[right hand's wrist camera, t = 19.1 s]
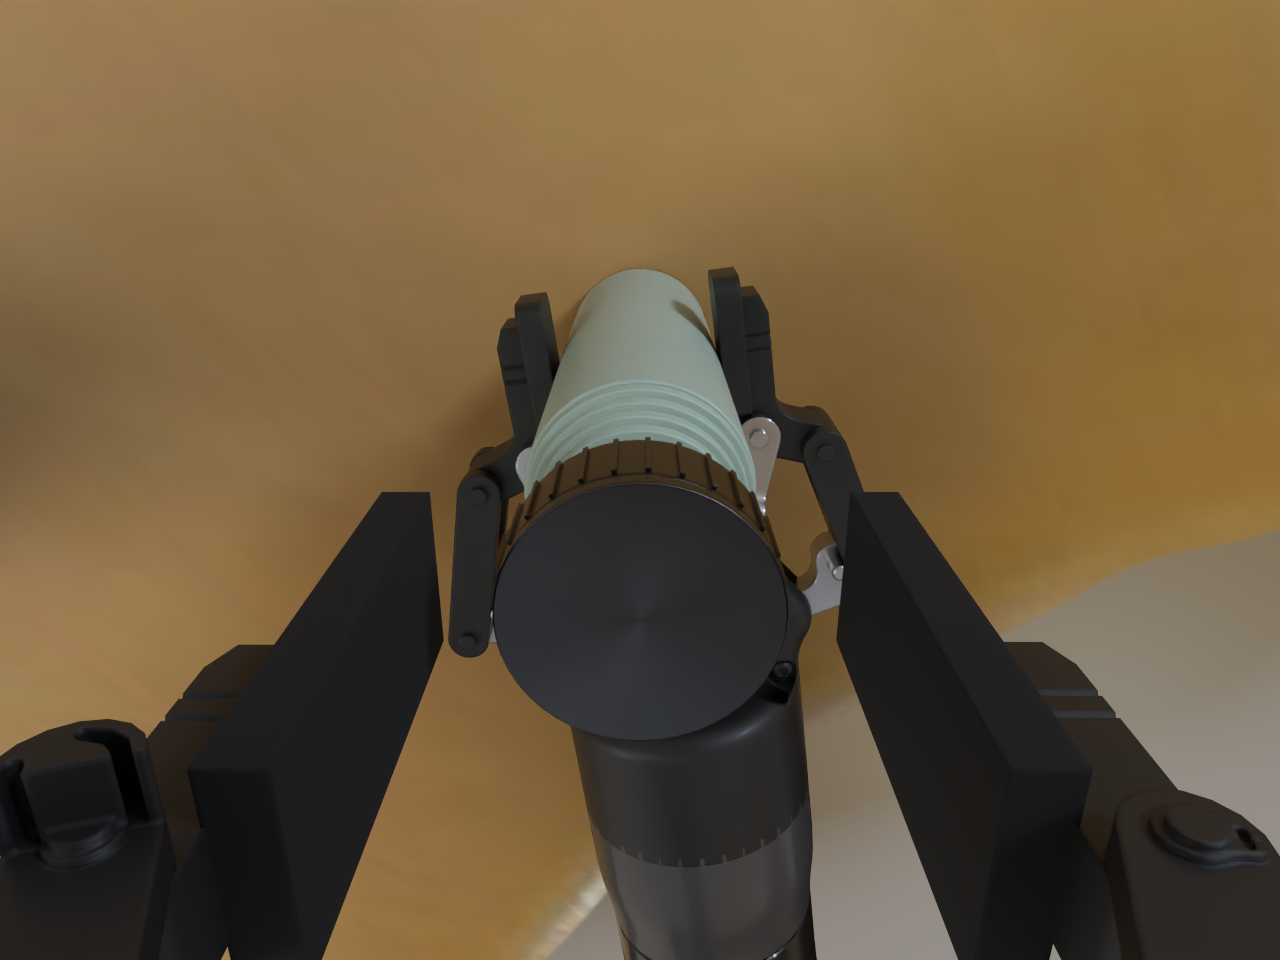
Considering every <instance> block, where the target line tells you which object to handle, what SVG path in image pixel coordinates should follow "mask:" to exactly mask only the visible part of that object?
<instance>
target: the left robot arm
mask: <svg viewBox="0 0 1280 960" xmlns="http://www.w3.org/2000/svg"><path fill="white" fill-rule="evenodd" d="M708 278H709V289H710V298H711V307H712V317H713V326H714V335H715V345H716V353H717V355H718V358H719V361H720V364H721V367H722V370H723V373H724V376H725V379H726V382H727V385H728V388H729V391H730V394H731V397H732V400H733V403H734V406H735V409H736V412H737V415H738V417H739V420H740V423H741V426H742V429H743V432H744V435H745V438H746V441H747V444H748V447H749V450H750V453H751V456H752V460H753V464H754V468H755V475H756V497H757V501H758V504H759V507H760V510H761V512H762V514H763V516H765V511H766V496H767V491H768V487H769V483H770V479H771V475H772V472H773V468H774V464H775V460H776V457H777V458H781V459H786V460H791V461H796V462H801V463H803V464H804V467H805V469H806V472H807V475H808V477H809V480H810V482H811V485H812V487H813V490H814V493H815V495H816V498H817V500H818V503H819V506H820V508H821V511H822V513H823V516H824V519H825V521H826V524H827V526H828V529H829V531H827V532H823V533H821V534H820V535H818V536H817V537H816V538H815V539H814V540H813V542H812V544H811V549H810V552H811V557H812V562H811V566H810V568H809V570H808V571H807V572H806V573H805V574H804V575H802V576H800V577H797V576H796V575H795V574H794V573H793V572H792V571H791V570H790V569H789V568H788V567H787V566H786V565H785V564H784V563H783V562H782V561H781V563H782V566H783V569H784V572H785V575H786V579H787V582H788V586H786V591H787V597H788V624H787V632H786V636H785V640H784V643H783V647H782V650H781V652H780V655H779V657H778V659H777V662H776V664H775V666H774V667H773V669H772V671H771V672H770V674H769V676H768V677H767V679H766V680H765V682H764V683H763V684H762V685H761V686H760V688H759V689H758V690H757V691H756V693H755V694H754V695H753V696H752V697H750V698H749V699H748V700H747V701H746V702H745V703H744V704H743V705H742V706H741V707H739V708H738V709H736V710H735V711H734V712H732V713H731V714H730V715H728V716H727V717H725V718H723V719H721V720H720V721H718V722H716V723H714V724H712V725H710V726H708V727H705V728H703V729H701V730H698V731H696V732H692V733H689V734H686V735H682V736H679V737H673V738H668V739H662V740H649V741H631V740H620V739H613V738H606V737H603V736H599V735H595V734H591V733H588V732H585V731H583V730H580V729H577V728H575V727H572V726H571V730H572V735H573V740H574V745H575V750H576V755H577V760H578V765H579V770H580V775H581V780H582V785H583V790H584V795H585V800H586V805H587V810H588V815H589V820H590V825H591V830H592V835H593V840H594V845H595V850H596V855H597V860H598V863H599V867H600V871H601V874H602V877H603V880H604V883H605V886H606V889H607V891H608V894H609V896H610V899H611V901H612V903H613V906H614V909H615V913H616V919H617V924H618V929H619V934H620V939H621V944H622V949H623V954H624V959H625V960H817V958H816V949H815V941H814V929H813V917H812V906H811V895H810V872H811V864H812V851H813V841H812V820H811V808H810V797H809V786H808V772H807V760H806V748H805V736H804V724H803V713H802V701H801V689H800V677H799V665H798V655H799V650H800V646H801V644H802V641H803V639H804V637H805V636H806V634H807V632H808V630H809V627H810V624H811V619H812V615H815V614H818V613H821V612H823V611H826V610H829V609H832V608H834V607H837V606H840V597H841V586H842V576H843V565H844V554H845V544H846V533H847V522H848V512H849V501H850V492H864V491H863V488H862V486H861V483H860V480H859V477H858V475H857V472H856V469H855V466H854V464H853V461H852V458H851V455H850V453H849V450H848V447H847V444H846V442H845V440H844V439H843V437H842V436H841V434H840V432H839V431H838V429H837V428H836V426H835V425H834V423H833V422H832V420H831V419H830V417H829V416H828V414H827V413H826V412H825V411H824V410H823V409H822V408H820V407H817V406H806V407H803V408H801V407H796V406H792V405H787V404H784V403H782V402H780V401H779V400H777V399H776V397H775V386H774V374H773V363H772V351H771V339H770V327H769V315H768V311H767V309H766V307H765V305H764V303H763V301H762V299H761V297H760V295H759V294H758V292H757V291H756V289H755V288H754V287H753V286H748V287H740V281H739V276H738V273H737V272H736V270H735V269H734V267H728V268H721V269H713V270H708ZM497 351H498V356H499V361H500V366H501V369H502V376H503V381H504V384H505V390H506V395H507V400H508V405H509V410H510V415H511V420H512V425H513V431H514V436H513V437H512V438H511V439H510V440H508V441H506V442H504V443H502V444H500V445H498V446H497V447H485V448H482V449H480V450H479V451H478V452H477V453H476V454H475V456H474V457H473V459H472V461H471V464H470V469H469V471H468V473H467V475H465V477H464V478H463V479H462V481H461V483H460V485H459V488H458V491H457V505H456V522H455V538H454V554H453V571H452V587H451V604H450V620H449V636H448V641H449V645H450V647H451V648H452V650H453V651H454V652H455V653H457V654H458V655H460V656H463V657H469V658H470V657H476V656H479V655H481V654H482V653H484V651H485V650H486V649H487V647H488V643H496V644H497V642H496V639H495V634H494V628H493V622H492V602H493V601H492V595H493V592H494V587H495V584H496V580H497V577H498V572H495V569H496V566H497V563H498V560H499V557H500V553H501V550H502V547H503V544H504V541H505V538H506V527H507V515H508V503H509V498H511V497H513V496H515V495H517V494H519V493H521V492H523V491H524V479H525V469H526V465H527V461H528V457H529V454H530V451H531V448H532V445H533V442H534V439H535V436H536V433H537V430H538V427H539V424H540V421H541V418H542V415H543V412H544V409H545V406H546V403H547V400H548V397H549V394H550V392H551V389H552V386H553V383H554V380H555V377H556V374H557V371H558V368H559V365H560V361H559V355H558V349H557V344H556V338H555V332H554V327H553V321H552V315H551V309H550V304H549V299H548V296H547V293H546V292H543V293H536V294H529V295H522V296H521V297H520V298H519V300H518V301H517V302H516V304H515V318H511V319H508V320H507V321H506V323H505V324H504V325H503V327H502V328H501V331H500V336H499V341H498V347H497Z"/></svg>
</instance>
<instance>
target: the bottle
mask: <svg viewBox="0 0 1280 960" xmlns="http://www.w3.org/2000/svg"><path fill="white" fill-rule="evenodd" d="M645 437H651V440H656V441H664V442H669V443H674V444H676V443H677V441H678V442H681V443H682V446H684V447H687V448H690V449H693V450H695V451H697V452H699V453H702V454H704V455H705V454H706V453H709V454H711V457H712V459H713V460H714V461H716V462H718V463H719V464H721V465H722V466H724V467H725V468H726V469H727V470H729V471H731V470H732V469H733V470H734V471H735V472H736V474H737V478H738V479H739V480H740V482H741V483H742V484H743V485H744V486H745V487H746V488H747V489H748V491H749V492H751V491H754V493H755V494H756V475H755V468H754V464H753V460H752V456H751V453H750V450H749V447H748V444H747V441H746V438H745V435H744V432H743V429H742V426H741V423H740V420H739V417H738V415H737V412H736V409H735V406H734V403H733V400H732V397H731V394H730V391H729V388H728V385H727V382H726V379H725V376H724V373H723V370H722V367H721V364H720V361H719V358H718V355H717V353H716V350H715V347H714V344H713V341H712V338H711V335H710V332H709V329H708V326H707V323H706V320H705V317H704V314H703V312H702V309H701V307H700V305H699V303H698V301H697V299H696V298H695V297H694V295H693V294H692V293H691V292H690V291H689V290H688V288H687V287H686V286H684V285H683V284H682V283H681V282H679V281H678V280H676V279H675V278H673V277H671V276H669V275H667V274H665V273H662V272H659V271H655V270H649V269H631V270H625V271H621V272H618V273H615V274H613V275H611V276H609V277H607V278H605V279H604V280H602V281H601V282H599V283H598V284H597V285H596V286H595V287H594V288H593V289H592V290H591V291H590V292H589V293H588V294H587V296H586V297H585V298H584V300H583V301H582V303H581V305H580V307H579V309H578V312H577V314H576V317H575V320H574V323H573V326H572V329H571V332H570V335H569V338H568V341H567V344H566V347H565V350H564V353H563V356H562V359H561V362H560V365H559V368H558V371H557V374H556V377H555V380H554V383H553V386H552V389H551V392H550V394H549V397H548V400H547V403H546V406H545V409H544V412H543V415H542V418H541V421H540V424H539V427H538V430H537V433H536V436H535V439H534V442H533V445H532V448H531V451H530V454H529V457H528V461H527V465H526V469H525V479H524V495H525V500H526V499H527V497H528V495H529V494H530V492H531V490H532V487H533V484H534V482H535V481H536V480H538V481H539V482H540V481H541V480H542V479H543V478H544V477H545V476H546V475H547V474H548V473H549V472H551V471H552V470H553V469H554V468H555V465H556V463H557V462H558V461H561V462H562V463H563V462H564V461H566V460H567V459H569V458H571V457H573V456H575V455H577V454H579V453H581V452H582V451H583V448H584V447H587V446H588V448H589V449H591V448H594V447H597V446H600V445H603V444H608V443H613V439H617V438H618V439H619V441H625V440H645Z"/></svg>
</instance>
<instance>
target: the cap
mask: <svg viewBox="0 0 1280 960" xmlns="http://www.w3.org/2000/svg"><path fill="white" fill-rule="evenodd" d="M780 557H781V555H780V552H779V549H778V546H777V543H776V540H775V537H774V534H773V531H772V528H771V525H770V521H769V519H768V516H763V514H762V512H761V510H760V507H759V504H758V501H757V497H756V494H755V493H754V491H751V492H749V491H748V489H747V488H746V487H745V486H744V485H743V484H742V483H741V482H740V480H739V479H738V478H737V474H736V472H735V471H734V470H733V469H732V470H731V471H729V470H727V469H726V468H725V467H724V466H722V465H721V464H719V463H718V462H716V461H714V460H713V459H712V457H711V454H709V453H706V454H705V455H704V454H702V453H699V452H697V451H695V450H693V449H690V448H687V447H684V446H682V443H681V442H678V441H677V443H676V444H674V443H669V442H664V441H656V440H651V437H645V440H625V441H619V439H618V438H617V439H613V443H608V444H603V445H600V446H597V447H594V448H591V449H589V448H588V446H587V447H584V448H583V451H582V452H581V453H579V454H577V455H575V456H573V457H571V458H569V459H567V460H566V461H564V462H563V463H562V462H561V461H558V462H557V463H556V465H555V468H554V469H553V470H552V471H551V472H549V473H548V474H547V475H546V476H545V477H544V478H543V479H542V480H541V481H540V482H539V481H538V480H536V481H535V482H534V484H533V487H532V490H531V492H530V494H529V495H528V497H527V499H526V500H525V502H524V503H523V505H522V504H520V503H519V504H518V506H517V509H516V512H515V515H514V518H513V521H512V525H511V528H510V529H508V532H507V535H506V538H505V541H504V544H503V547H502V550H501V553H500V557H499V560H498V563H497V566H496V569H495V572H498V577H497V580H496V584H495V587H494V592H493V595H492V601H493V602H492V622H493V628H494V634H495V639H496V642H497V645H498V648H499V651H500V654H501V656H502V658H503V660H504V662H505V664H506V666H507V668H508V670H509V672H510V673H511V675H512V676H513V678H514V679H515V681H516V682H517V684H518V685H519V686H520V687H521V688H522V689H523V691H524V692H525V693H526V694H527V695H528V696H529V697H530V698H531V699H532V700H533V701H534V702H535V703H537V704H538V705H539V706H540V707H541V708H542V709H544V710H545V711H547V712H548V713H550V714H551V715H553V716H554V717H555V718H557V719H559V720H561V721H563V722H565V723H567V724H568V725H570V726H572V727H575V728H577V729H580V730H583V731H585V732H588V733H591V734H595V735H599V736H603V737H606V738H613V739H620V740H631V741H649V740H662V739H668V738H673V737H679V736H682V735H686V734H689V733H692V732H696V731H698V730H701V729H703V728H705V727H708V726H710V725H712V724H714V723H716V722H718V721H720V720H721V719H723V718H725V717H727V716H728V715H730V714H731V713H732V712H734V711H735V710H736V709H738V708H739V707H741V706H742V705H743V704H744V703H745V702H746V701H747V700H748V699H749V698H750V697H752V696H753V695H754V694H755V693H756V691H757V690H758V689H759V688H760V686H761V685H762V684H763V683H764V682H765V680H766V679H767V677H768V676H769V674H770V672H771V671H772V669H773V667H774V666H775V664H776V662H777V659H778V657H779V655H780V652H781V650H782V647H783V643H784V640H785V636H786V632H787V624H788V597H787V591H786V586H788V582H787V579H786V575H785V572H784V569H783V566H782V563H781V560H780Z"/></svg>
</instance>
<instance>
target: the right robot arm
mask: <svg viewBox="0 0 1280 960" xmlns="http://www.w3.org/2000/svg"><path fill="white" fill-rule="evenodd" d="M443 641H444V639H443V629H442V618H441V607H440V597H439V586H438V576H437V565H436V554H435V544H434V533H433V522H432V512H431V501H430V492H382V493H381V494H380V496H379V497H378V498H377V500H376V501H375V503H374V504H373V506H372V507H371V508H370V510H369V511H368V513H367V514H366V515H365V517H364V518H363V520H362V521H361V523H360V524H359V525H358V527H357V528H356V530H355V531H354V532H353V534H352V535H351V537H350V538H349V540H348V541H347V542H346V544H345V545H344V547H343V548H342V549H341V551H340V552H339V554H338V555H337V557H336V558H335V559H334V561H333V562H332V564H331V565H330V567H329V568H328V569H327V571H326V572H325V574H324V575H323V576H322V578H321V579H320V581H319V582H318V584H317V585H316V586H315V588H314V589H313V591H312V592H311V593H310V595H309V596H308V598H307V599H306V601H305V602H304V603H303V605H302V606H301V608H300V609H299V611H298V612H297V613H296V615H295V616H294V618H293V619H292V620H291V622H290V623H289V625H288V626H287V628H286V629H285V630H284V632H283V633H282V635H281V636H280V637H279V639H278V640H277V642H276V643H275V645H237V646H236V647H234V648H233V649H231V650H230V651H228V652H227V653H225V654H224V655H222V656H221V657H219V658H218V659H216V660H215V661H213V662H212V663H210V664H209V665H207V666H206V667H204V668H203V669H202V671H201V672H200V673H199V674H198V676H197V677H196V678H195V679H194V681H193V682H192V683H191V684H190V686H189V687H188V688H187V689H186V691H185V692H184V693H183V698H182V699H178V701H177V702H176V703H175V704H174V705H173V707H172V708H171V709H170V710H169V712H168V713H167V714H166V715H165V721H161V722H160V723H159V724H158V725H157V727H156V728H155V729H154V730H153V732H152V733H151V734H150V735H149V737H148V738H147V739H146V735H145V733H144V732H142V731H141V730H140V729H138V728H137V727H136V726H135V725H133V724H132V723H128V722H122V721H117V720H111V719H103V720H91V721H79V722H76V723H72V724H69V725H65V726H61V727H58V728H54V729H50V730H47V731H45V732H43V733H41V734H38V735H36V736H34V737H32V738H30V739H28V740H25V741H23V742H21V743H19V744H17V745H15V746H14V747H12V748H11V749H10V750H8V751H7V752H5V753H4V754H3V755H1V756H0V856H1V858H0V960H221V958H222V956H223V954H224V952H225V950H226V948H227V946H228V950H229V954H230V958H231V960H322V958H323V955H324V952H325V950H326V947H327V945H328V942H329V939H330V937H331V934H332V931H333V929H334V926H335V924H336V921H337V918H338V916H339V913H340V910H341V908H342V905H343V903H344V900H345V897H346V895H347V892H348V890H349V887H350V884H351V882H352V879H353V876H354V874H355V871H356V869H357V866H358V863H359V861H360V858H361V855H362V853H363V850H364V848H365V845H366V842H367V840H368V837H369V835H370V832H371V829H372V827H373V824H374V821H375V819H376V816H377V814H378V811H379V808H380V806H381V803H382V800H383V798H384V795H385V793H386V790H387V787H388V785H389V782H390V779H391V777H392V774H393V772H394V769H395V766H396V764H397V761H398V759H399V756H400V753H401V751H402V748H403V745H404V743H405V740H406V738H407V735H408V732H409V730H410V727H411V724H412V722H413V719H414V717H415V714H416V711H417V709H418V706H419V704H420V701H421V698H422V696H423V693H424V690H425V688H426V685H427V683H428V680H429V677H430V675H431V672H432V669H433V667H434V664H435V662H436V659H437V656H438V654H439V651H440V649H441V646H442V643H443ZM836 641H837V643H838V646H839V649H840V651H841V654H842V656H843V659H844V662H845V664H846V667H847V669H848V672H849V675H850V677H851V680H852V683H853V685H854V688H855V690H856V693H857V696H858V698H859V701H860V704H861V706H862V709H863V711H864V714H865V717H866V719H867V722H868V724H869V727H870V730H871V732H872V735H873V737H874V740H875V743H876V745H877V748H878V750H879V753H880V756H881V759H882V761H883V764H884V766H885V769H886V772H887V774H888V777H889V779H890V782H891V785H892V787H893V790H894V793H895V795H896V798H897V800H898V803H899V806H900V808H901V811H902V813H903V816H904V819H905V821H906V824H907V827H908V829H909V832H910V835H911V837H912V840H913V842H914V845H915V848H916V850H917V853H918V855H919V858H920V861H921V863H922V866H923V869H924V871H925V874H926V876H927V879H928V882H929V884H930V887H931V890H932V892H933V895H934V897H935V900H936V903H937V905H938V908H939V910H940V913H941V916H942V918H943V921H944V923H945V926H946V929H947V931H948V934H949V937H950V939H951V942H952V944H953V947H954V950H955V952H956V955H957V957H958V960H1049V958H1050V954H1051V950H1052V945H1053V944H1054V946H1055V948H1056V950H1057V952H1058V954H1059V956H1060V958H1061V960H1280V856H1279V854H1278V853H1277V852H1276V850H1275V849H1274V847H1273V846H1272V844H1271V843H1270V841H1269V840H1268V838H1267V837H1266V836H1265V834H1263V833H1262V832H1261V831H1260V830H1259V829H1257V828H1256V827H1255V826H1254V825H1252V824H1251V823H1250V822H1249V821H1247V820H1246V819H1245V818H1244V817H1243V816H1241V815H1240V814H1238V813H1236V812H1234V811H1232V810H1230V809H1228V808H1226V807H1224V806H1222V805H1220V804H1219V803H1217V802H1215V801H1213V800H1210V799H1207V798H1204V797H1201V796H1197V795H1194V794H1191V793H1188V792H1184V791H1181V790H1178V789H1177V788H1176V787H1175V786H1174V784H1173V783H1172V782H1171V781H1170V779H1169V778H1168V777H1167V776H1166V774H1165V773H1164V772H1163V771H1162V770H1161V768H1160V767H1159V766H1158V765H1157V763H1156V762H1155V761H1154V760H1153V758H1152V757H1151V756H1150V755H1149V754H1148V752H1147V751H1146V750H1145V749H1144V747H1143V746H1142V745H1141V744H1140V742H1139V741H1138V740H1137V739H1136V737H1135V736H1134V735H1133V734H1132V732H1131V731H1130V730H1129V729H1128V728H1127V726H1126V725H1125V724H1124V723H1123V721H1122V720H1121V719H1120V718H1116V716H1115V712H1114V710H1113V709H1112V708H1111V707H1110V705H1109V704H1108V703H1107V702H1106V700H1105V699H1104V698H1103V697H1102V696H1098V691H1097V689H1096V688H1095V687H1094V686H1093V684H1092V683H1091V682H1090V681H1089V679H1088V678H1087V677H1086V676H1085V674H1084V673H1083V672H1082V671H1081V670H1080V668H1079V667H1078V666H1077V665H1076V664H1075V663H1073V662H1072V661H1070V660H1069V659H1067V658H1066V657H1064V656H1063V655H1061V654H1060V653H1058V652H1057V651H1055V650H1054V649H1052V648H1050V647H1049V646H1047V645H1046V644H1044V643H1043V642H1003V640H1002V639H1001V637H1000V636H999V635H998V633H997V632H996V630H995V629H994V628H993V626H992V625H991V623H990V622H989V620H988V619H987V618H986V616H985V615H984V613H983V612H982V611H981V609H980V608H979V606H978V605H977V603H976V602H975V601H974V599H973V598H972V596H971V595H970V593H969V592H968V591H967V589H966V588H965V586H964V585H963V584H962V582H961V581H960V579H959V578H958V576H957V575H956V574H955V572H954V571H953V569H952V568H951V567H950V565H949V564H948V562H947V561H946V559H945V558H944V557H943V555H942V554H941V552H940V551H939V549H938V548H937V547H936V545H935V544H934V542H933V541H932V540H931V538H930V537H929V535H928V534H927V532H926V531H925V530H924V528H923V527H922V525H921V524H920V523H919V521H918V520H917V518H916V517H915V515H914V514H913V513H912V511H911V510H910V508H909V507H908V506H907V504H906V503H905V501H904V500H903V498H902V497H901V496H900V494H899V493H898V492H850V501H849V512H848V522H847V533H846V544H845V554H844V565H843V576H842V586H841V597H840V607H839V618H838V629H837V639H836Z"/></svg>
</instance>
